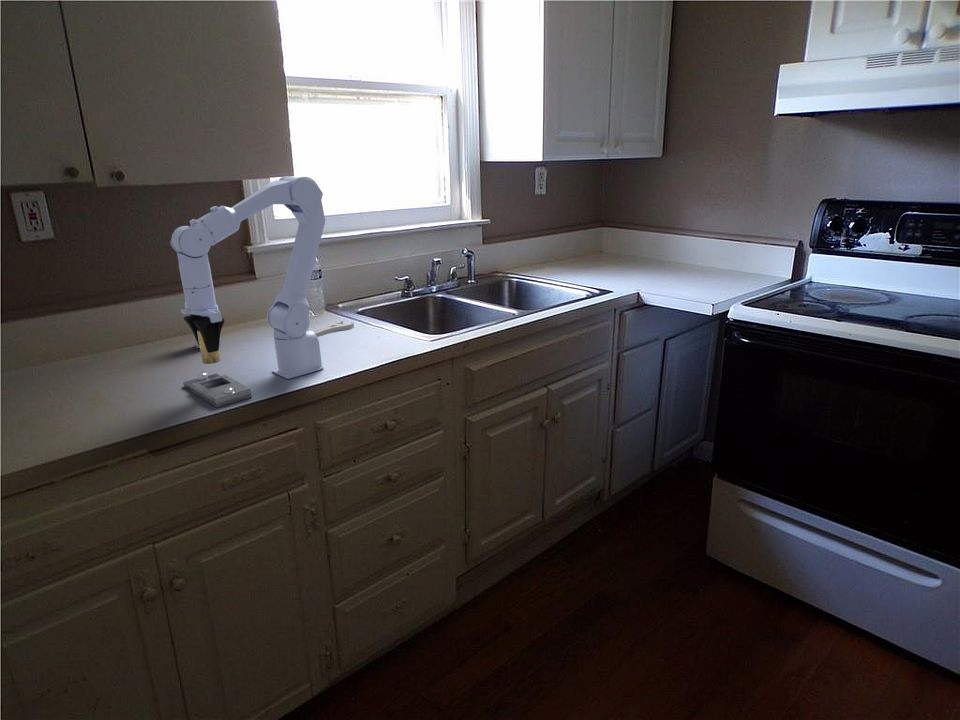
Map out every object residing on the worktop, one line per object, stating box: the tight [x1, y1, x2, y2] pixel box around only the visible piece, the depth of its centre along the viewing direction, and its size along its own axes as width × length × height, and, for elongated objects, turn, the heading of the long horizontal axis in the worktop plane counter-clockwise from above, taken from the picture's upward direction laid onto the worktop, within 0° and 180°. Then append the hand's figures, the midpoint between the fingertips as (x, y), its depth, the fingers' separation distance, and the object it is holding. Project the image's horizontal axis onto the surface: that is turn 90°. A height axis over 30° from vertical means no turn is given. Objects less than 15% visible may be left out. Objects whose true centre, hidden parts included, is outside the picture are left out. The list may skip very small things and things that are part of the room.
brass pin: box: [197, 330, 222, 365], centre depth 132 cm, size 4×4×7 cm
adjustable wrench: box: [312, 320, 355, 338], centre depth 175 cm, size 25×6×2 cm, turn 139°
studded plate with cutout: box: [182, 371, 252, 408], centre depth 135 cm, size 7×18×2 cm, turn 44°
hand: (209, 349), depth 132 cm, fingers closed on brass pin, 4 cm apart
